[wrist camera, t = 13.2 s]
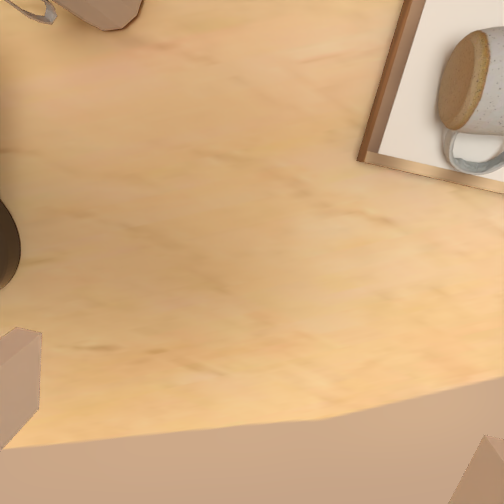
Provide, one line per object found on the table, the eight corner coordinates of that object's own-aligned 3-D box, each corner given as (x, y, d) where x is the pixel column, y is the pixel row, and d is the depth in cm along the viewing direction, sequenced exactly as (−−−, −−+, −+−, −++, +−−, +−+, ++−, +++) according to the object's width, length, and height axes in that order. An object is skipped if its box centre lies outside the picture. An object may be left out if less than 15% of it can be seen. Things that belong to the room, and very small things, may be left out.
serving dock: (356, 160, 35) (368, 162, 31) (424, -66, 30) (452, -106, 25) (511, 195, 35) (548, 203, 31) (608, -24, 30) (672, -57, 25)
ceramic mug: (440, 41, 29) (495, 8, 22) (544, 41, 29) (636, 7, 21) (419, 172, 32) (461, 181, 25) (512, 174, 32) (582, 184, 25)
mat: (377, 153, 32) (378, 153, 32) (437, -40, 28) (438, -41, 28) (526, 187, 32) (527, 187, 32) (611, 0, 28) (613, -1, 28)
